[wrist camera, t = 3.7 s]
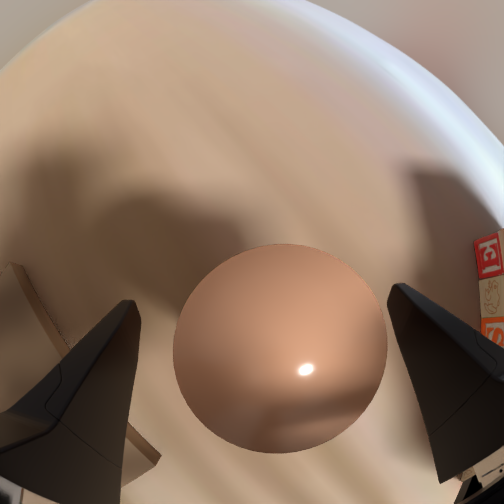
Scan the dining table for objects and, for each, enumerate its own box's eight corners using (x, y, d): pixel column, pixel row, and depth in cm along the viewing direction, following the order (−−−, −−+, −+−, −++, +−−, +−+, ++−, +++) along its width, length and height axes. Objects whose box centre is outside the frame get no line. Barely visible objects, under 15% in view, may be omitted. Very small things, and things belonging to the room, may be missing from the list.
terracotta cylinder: (320, 330, 16) (420, 345, 6) (256, 390, 15) (279, 485, 5) (259, 268, 17) (287, 201, 7) (195, 328, 16) (130, 346, 6)
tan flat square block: (161, 455, 14) (155, 465, 12) (53, 519, 11) (46, 526, 10) (22, 265, 16) (9, 261, 14) (-47, 375, 13) (-57, 376, 12)
